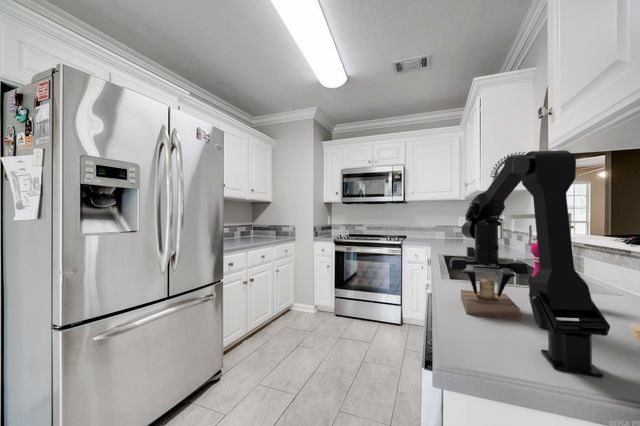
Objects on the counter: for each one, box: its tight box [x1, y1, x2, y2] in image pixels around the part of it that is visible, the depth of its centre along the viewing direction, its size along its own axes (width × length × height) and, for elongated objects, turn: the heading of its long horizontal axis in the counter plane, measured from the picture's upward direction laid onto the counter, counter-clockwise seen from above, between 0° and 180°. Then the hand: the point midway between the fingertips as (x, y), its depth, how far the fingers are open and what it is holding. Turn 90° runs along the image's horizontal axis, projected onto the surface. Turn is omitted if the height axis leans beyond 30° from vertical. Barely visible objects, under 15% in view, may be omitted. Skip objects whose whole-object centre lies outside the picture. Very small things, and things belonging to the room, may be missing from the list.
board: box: [460, 289, 521, 321], centre depth 77 cm, size 14×12×3 cm
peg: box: [479, 278, 495, 301], centre depth 77 cm, size 4×4×8 cm
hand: (487, 295), depth 77 cm, fingers open, 5 cm apart
